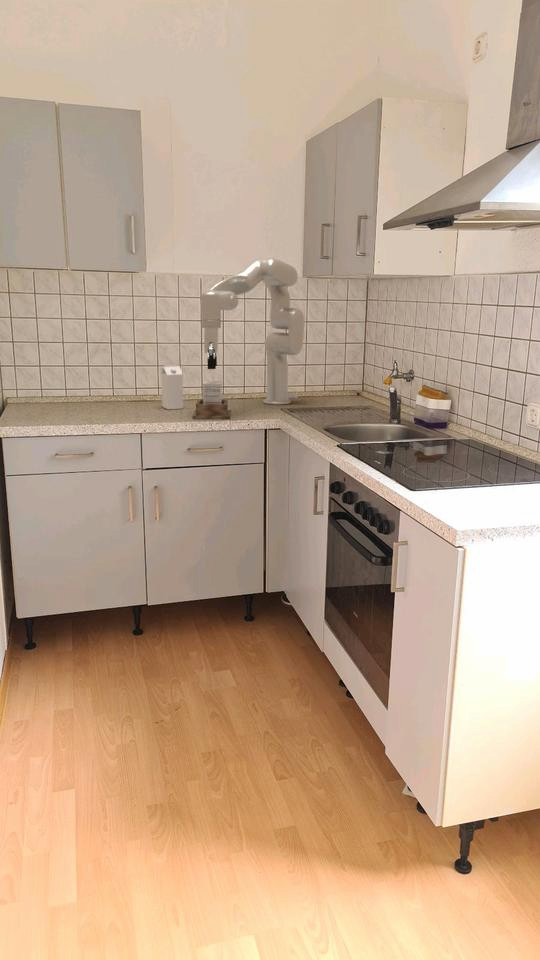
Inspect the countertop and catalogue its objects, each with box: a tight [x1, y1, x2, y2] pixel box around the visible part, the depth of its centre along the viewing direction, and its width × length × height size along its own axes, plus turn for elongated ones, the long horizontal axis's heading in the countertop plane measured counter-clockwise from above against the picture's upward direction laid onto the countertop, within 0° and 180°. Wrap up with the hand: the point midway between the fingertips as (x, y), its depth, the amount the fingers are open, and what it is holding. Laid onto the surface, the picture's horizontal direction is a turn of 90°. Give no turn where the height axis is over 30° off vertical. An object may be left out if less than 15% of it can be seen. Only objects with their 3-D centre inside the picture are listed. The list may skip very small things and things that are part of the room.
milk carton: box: [160, 363, 184, 410], centre depth 303 cm, size 7×7×19 cm
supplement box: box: [202, 380, 223, 404], centre depth 287 cm, size 7×7×13 cm
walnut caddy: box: [191, 399, 232, 420], centre depth 288 cm, size 15×15×6 cm
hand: (212, 367), depth 284 cm, fingers open, 9 cm apart
